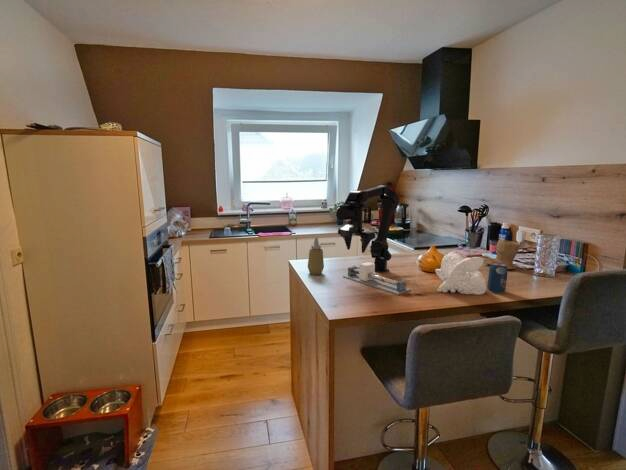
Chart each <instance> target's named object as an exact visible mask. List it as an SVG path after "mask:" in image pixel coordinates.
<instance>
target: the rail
mask: <svg viewBox="0 0 626 470" xmlns="http://www.w3.org/2000/svg"><path fill="white" fill-rule="evenodd" d="M357 274H359V269H358V266H356V265H353V266H349V267H347V275H348V276H353V275H357ZM368 277H369V278H373V279H376V280H379V281H382V282H385V283H389V284H392V285H396V286H397V291H398V292H401V291H404V290H406V288H407V280H405V279H402V280H399V281H398V280H394V279H391V278H388V277H385V276H381V275H377V274H371V273H368Z"/></svg>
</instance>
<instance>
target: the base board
mask: <svg viewBox="0 0 626 470" xmlns="http://www.w3.org/2000/svg"><path fill="white" fill-rule="evenodd" d="M342 277H343V278H345V279H348V280H351V281H353V282H357V283H359V284H363V285H367V286H368V287H369V286H370V287H372V288H375V289H379V290H382V291H384V292H387V293H391V294H394V295H396V296H399V295H402V294H404V293H408V292H410V291H411V288H408V287H406V290H404V291H401V292H398V291H397V286H396V285H392V284H389V283H385V282H382V281H379V280H376V279H371V280H368V281H364V280H361V279H359V274H357V275H353V276H348V274H346V275H342Z"/></svg>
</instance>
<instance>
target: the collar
mask: <svg viewBox="0 0 626 470" xmlns="http://www.w3.org/2000/svg"><path fill="white" fill-rule="evenodd" d="M358 270H359V279H361V280H364V281H368V280H371V279H373V278H369V277H368V273H371V274H375V273H376V271H375V264H374V262H370V261H367V262H364V263H359V269H358ZM375 275H376V274H375Z"/></svg>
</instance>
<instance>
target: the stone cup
mask: <svg viewBox="0 0 626 470" xmlns="http://www.w3.org/2000/svg"><path fill="white" fill-rule="evenodd" d="M519 249H520V244H519V243H518V242H515V241H511V240H506V239H502V238H501V239H499V240H498V241H497V244H496V257H495V258H491V257H487V258H485V259H483V260H484V261H483V264H486V265H489V266H491V264H492V263H493V262H498V263H504V264H506V265H507V268H508V270H514V269H516V268H517V266H516V265H515V264H514V263H513V262H514V260H515V258H516V256H517V254H518V252H519Z"/></svg>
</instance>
